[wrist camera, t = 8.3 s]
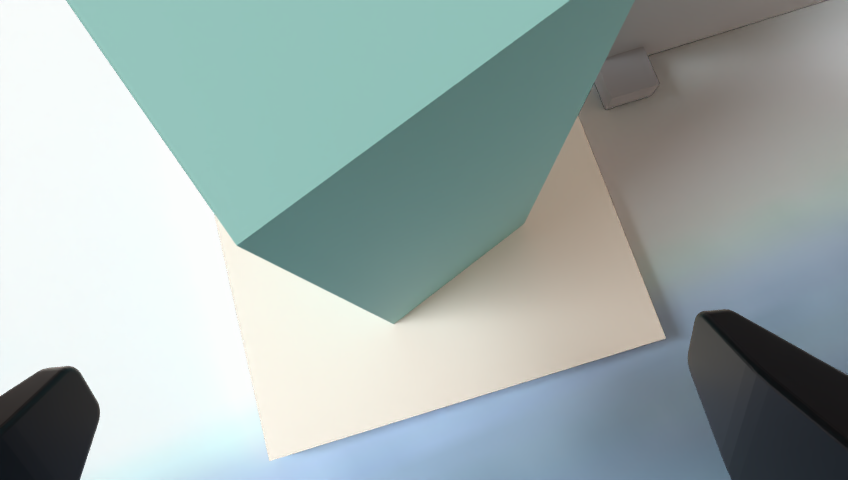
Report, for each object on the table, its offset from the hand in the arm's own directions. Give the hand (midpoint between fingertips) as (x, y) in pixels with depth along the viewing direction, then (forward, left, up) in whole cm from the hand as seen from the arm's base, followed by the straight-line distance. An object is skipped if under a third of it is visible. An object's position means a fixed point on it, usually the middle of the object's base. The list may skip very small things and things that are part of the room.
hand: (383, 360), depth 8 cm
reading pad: (+5, -1, -9) cm, 10 cm away
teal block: (+4, -1, -8) cm, 10 cm away
